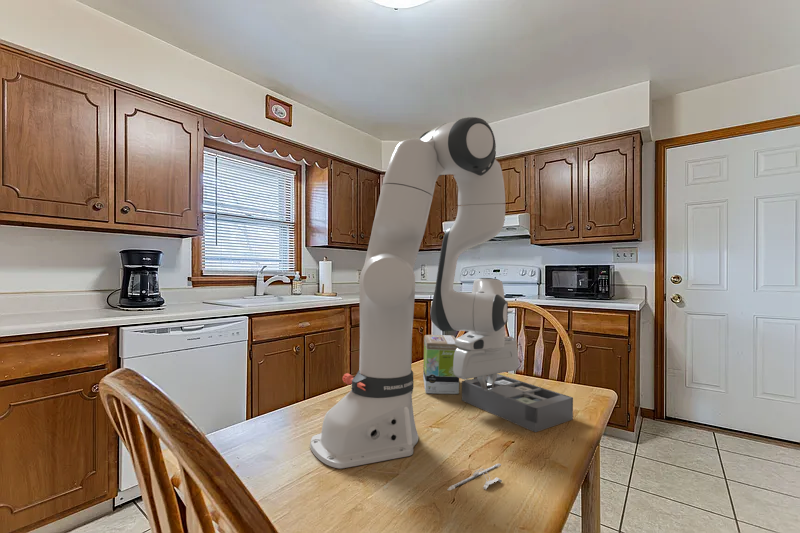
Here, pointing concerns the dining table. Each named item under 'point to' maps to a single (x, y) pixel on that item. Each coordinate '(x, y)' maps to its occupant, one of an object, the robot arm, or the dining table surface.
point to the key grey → (504, 383)
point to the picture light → (478, 476)
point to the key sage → (526, 400)
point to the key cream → (524, 390)
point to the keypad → (519, 403)
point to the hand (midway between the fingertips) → (487, 390)
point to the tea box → (439, 365)
